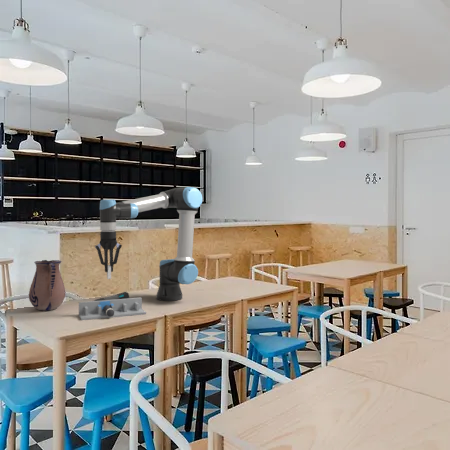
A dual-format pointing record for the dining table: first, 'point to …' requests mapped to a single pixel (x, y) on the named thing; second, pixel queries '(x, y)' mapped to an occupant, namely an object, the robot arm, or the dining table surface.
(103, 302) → the spiked grey rail
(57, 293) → the ceramic pitcher
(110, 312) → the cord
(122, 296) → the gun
